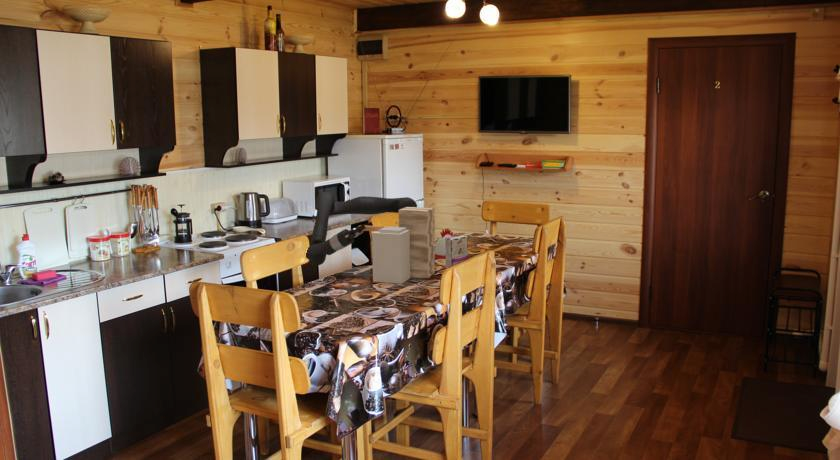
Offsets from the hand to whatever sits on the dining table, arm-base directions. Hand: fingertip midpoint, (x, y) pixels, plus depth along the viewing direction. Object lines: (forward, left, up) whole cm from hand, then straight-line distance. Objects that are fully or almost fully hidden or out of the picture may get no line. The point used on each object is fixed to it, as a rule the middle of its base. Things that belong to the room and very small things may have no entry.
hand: (368, 224), depth 348 cm
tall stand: (-13, +19, -26) cm, 35 cm away
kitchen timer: (-60, +19, -26) cm, 68 cm away
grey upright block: (0, +11, -26) cm, 28 cm away
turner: (0, +7, -3) cm, 8 cm away
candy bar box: (-29, +34, -26) cm, 52 cm away
